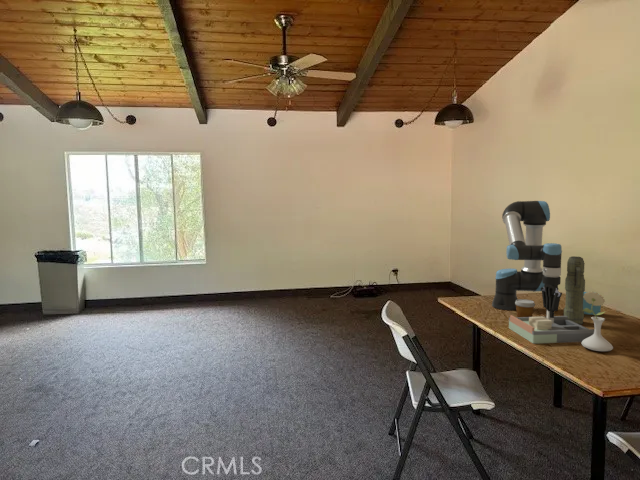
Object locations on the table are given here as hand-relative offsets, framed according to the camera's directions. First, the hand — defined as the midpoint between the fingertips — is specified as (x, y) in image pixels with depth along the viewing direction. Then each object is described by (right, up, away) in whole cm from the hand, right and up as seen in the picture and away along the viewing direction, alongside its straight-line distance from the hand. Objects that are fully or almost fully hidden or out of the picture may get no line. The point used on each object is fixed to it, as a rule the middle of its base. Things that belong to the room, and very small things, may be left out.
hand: (549, 323), depth 191 cm
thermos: (+23, -3, +18) cm, 30 cm away
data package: (+41, -2, +34) cm, 53 cm away
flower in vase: (+9, -7, -18) cm, 22 cm away
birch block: (-5, -2, 0) cm, 5 cm away
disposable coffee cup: (-3, -4, +18) cm, 19 cm away
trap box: (+2, -5, +1) cm, 6 cm away
